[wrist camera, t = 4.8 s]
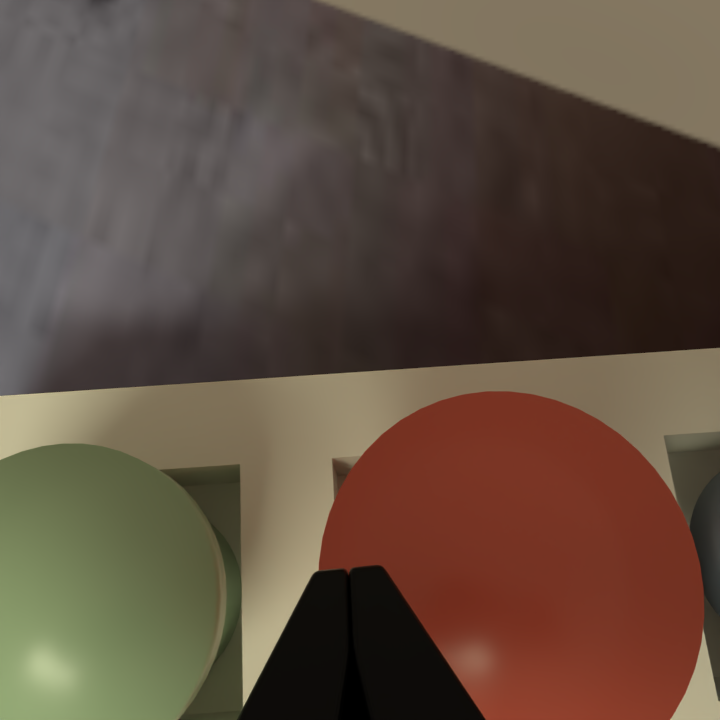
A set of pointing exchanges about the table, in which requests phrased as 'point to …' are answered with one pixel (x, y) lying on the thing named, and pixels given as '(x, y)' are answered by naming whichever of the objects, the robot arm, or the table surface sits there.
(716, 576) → the slate blue button
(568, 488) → the red button
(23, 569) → the sage green button
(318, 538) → the button console
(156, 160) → the table surface
